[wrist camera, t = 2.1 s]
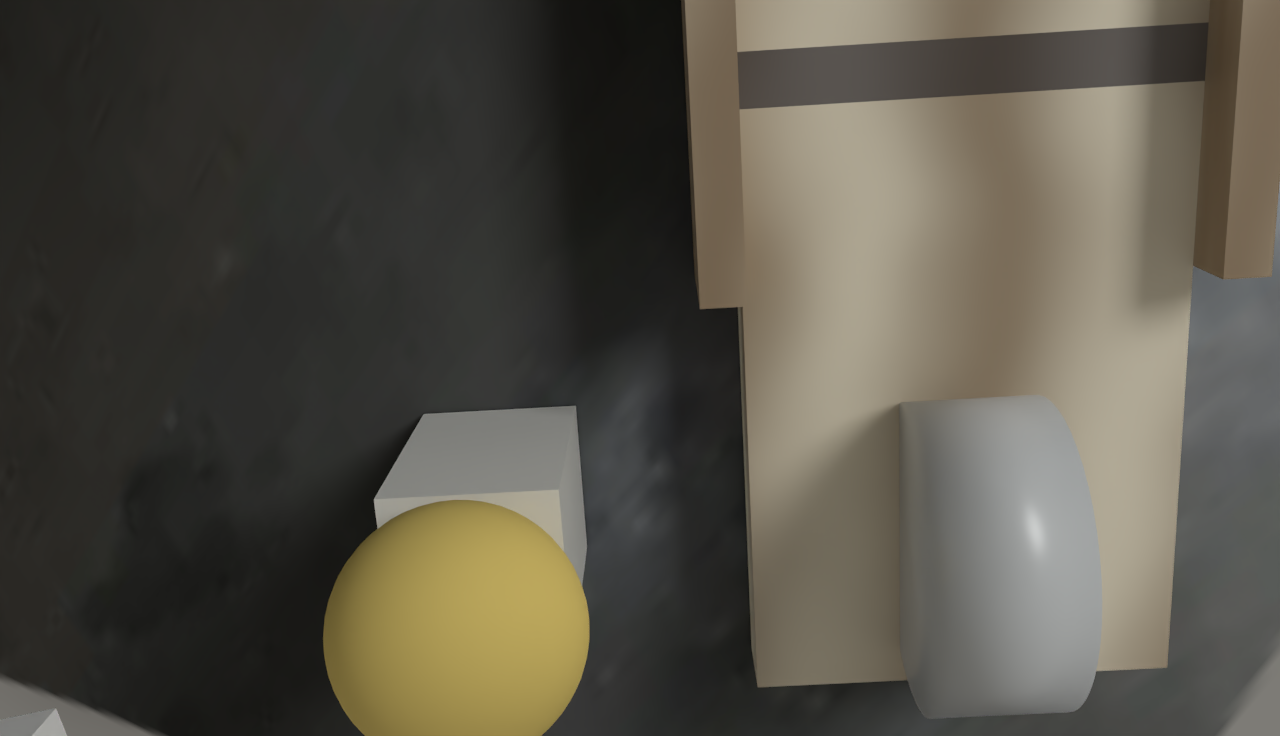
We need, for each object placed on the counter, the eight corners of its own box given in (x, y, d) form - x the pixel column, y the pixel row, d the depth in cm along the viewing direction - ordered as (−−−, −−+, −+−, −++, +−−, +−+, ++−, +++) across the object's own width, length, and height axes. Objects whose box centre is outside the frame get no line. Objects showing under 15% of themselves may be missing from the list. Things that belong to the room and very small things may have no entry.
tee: (439, 554, 31) (395, 665, 26) (423, 414, 30) (374, 499, 25) (586, 547, 31) (573, 656, 26) (575, 405, 30) (559, 489, 25)
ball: (373, 685, 26) (310, 833, 22) (343, 469, 25) (269, 575, 20) (603, 673, 26) (591, 820, 21) (586, 456, 25) (570, 560, 20)
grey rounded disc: (885, 623, 32) (946, 786, 25) (883, 365, 30) (950, 466, 23) (1001, 617, 32) (1095, 779, 25) (1006, 358, 30) (1109, 457, 23)
